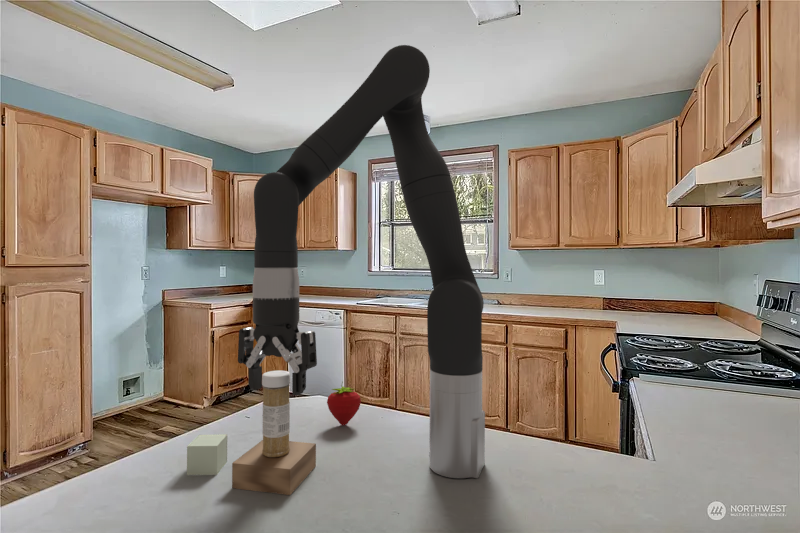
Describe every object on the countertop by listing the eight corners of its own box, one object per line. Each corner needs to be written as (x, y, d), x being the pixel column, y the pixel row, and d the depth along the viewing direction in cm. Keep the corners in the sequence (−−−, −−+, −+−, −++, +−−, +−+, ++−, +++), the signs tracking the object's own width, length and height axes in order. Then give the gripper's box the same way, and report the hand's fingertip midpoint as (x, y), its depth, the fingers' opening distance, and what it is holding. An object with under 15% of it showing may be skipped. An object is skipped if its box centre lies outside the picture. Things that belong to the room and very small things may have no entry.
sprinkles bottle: (282, 445, 77) (283, 368, 77) (294, 453, 73) (295, 373, 73) (257, 452, 74) (257, 372, 74) (268, 461, 70) (268, 377, 70)
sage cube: (227, 462, 79) (227, 434, 79) (217, 475, 74) (217, 445, 74) (199, 462, 79) (199, 434, 79) (186, 475, 74) (187, 446, 74)
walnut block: (315, 466, 77) (315, 443, 77) (290, 495, 68) (290, 469, 68) (264, 460, 79) (264, 438, 79) (232, 488, 70) (232, 463, 70)
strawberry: (360, 430, 94) (360, 384, 94) (325, 430, 94) (325, 384, 94) (361, 420, 100) (361, 377, 100) (328, 420, 100) (328, 377, 100)
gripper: (325, 294, 74) (325, 390, 74) (257, 292, 79) (257, 382, 79) (299, 297, 67) (299, 403, 67) (226, 295, 72) (226, 393, 72)
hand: (276, 391), depth 73 cm, fingers open, 8 cm apart
